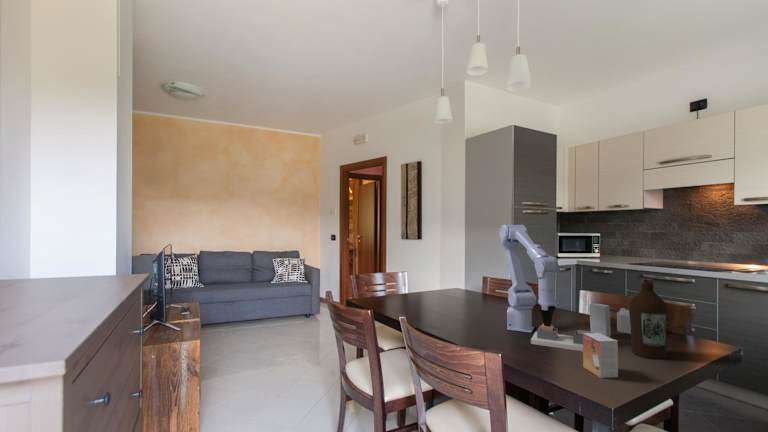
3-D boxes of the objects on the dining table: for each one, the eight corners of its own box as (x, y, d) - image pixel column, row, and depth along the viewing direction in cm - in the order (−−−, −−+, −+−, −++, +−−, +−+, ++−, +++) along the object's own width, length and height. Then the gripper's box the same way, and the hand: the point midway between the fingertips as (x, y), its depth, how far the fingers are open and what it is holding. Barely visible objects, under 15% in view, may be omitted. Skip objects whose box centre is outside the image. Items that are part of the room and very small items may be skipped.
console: (530, 343, 137) (530, 331, 137) (535, 335, 147) (535, 323, 147) (600, 353, 126) (600, 340, 126) (600, 343, 136) (600, 331, 136)
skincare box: (611, 336, 145) (610, 305, 145) (606, 338, 142) (606, 306, 142) (594, 333, 150) (593, 302, 150) (589, 335, 147) (588, 304, 147)
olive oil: (624, 348, 131) (623, 276, 132) (659, 350, 129) (657, 277, 129) (637, 358, 121) (636, 281, 121) (675, 361, 119) (673, 282, 119)
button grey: (577, 342, 133) (577, 332, 133) (578, 339, 136) (577, 329, 136) (590, 344, 131) (590, 334, 131) (590, 341, 134) (590, 331, 134)
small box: (582, 367, 114) (582, 332, 114) (600, 366, 114) (599, 332, 115) (600, 378, 106) (599, 341, 106) (618, 377, 106) (618, 340, 107)
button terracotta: (541, 335, 139) (540, 326, 139) (542, 333, 142) (542, 323, 142) (552, 337, 137) (552, 327, 137) (553, 334, 140) (553, 325, 140)
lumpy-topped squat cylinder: (614, 330, 153) (613, 309, 153) (625, 325, 161) (625, 304, 161) (644, 336, 145) (643, 314, 145) (654, 330, 153) (653, 309, 153)
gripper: (556, 293, 132) (557, 332, 131) (560, 287, 144) (561, 322, 144) (535, 291, 135) (535, 329, 135) (540, 285, 148) (541, 320, 147)
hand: (547, 325), depth 140 cm, fingers closed, pressing on button terracotta
